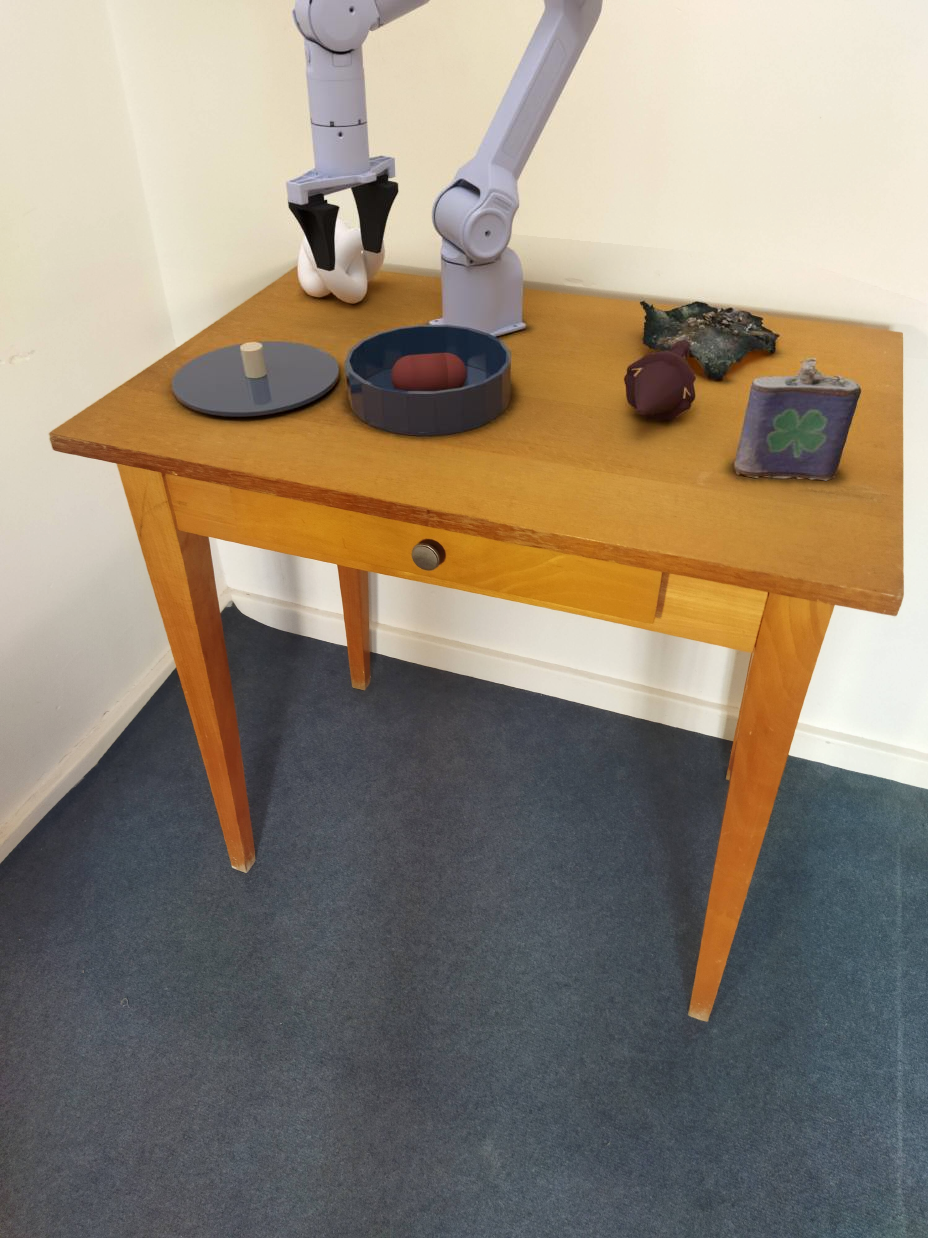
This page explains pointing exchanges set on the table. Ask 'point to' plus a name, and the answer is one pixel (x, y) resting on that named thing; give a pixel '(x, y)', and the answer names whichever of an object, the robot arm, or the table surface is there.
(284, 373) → the lid
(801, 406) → the flask
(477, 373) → the dark blue bowl
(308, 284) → the white twisted tube
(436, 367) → the sweet potato
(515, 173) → the robot arm
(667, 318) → the decorative rock
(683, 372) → the dark maroon rounded piece
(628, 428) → the table surface
